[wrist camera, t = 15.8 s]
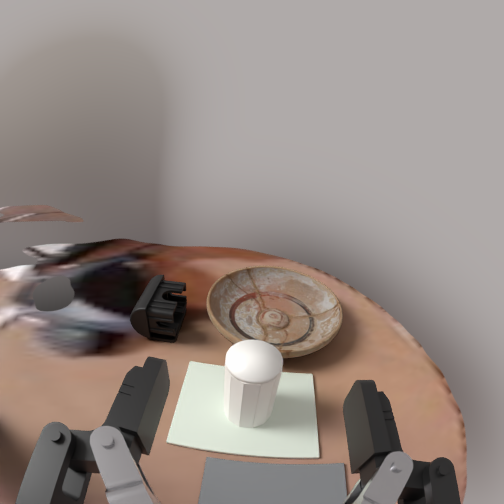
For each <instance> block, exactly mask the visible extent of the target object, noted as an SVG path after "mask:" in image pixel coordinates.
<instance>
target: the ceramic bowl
mask: <svg viewBox="0 0 504 504" xmlns="http://www.w3.org/2000/svg"><path fill="white" fill-rule="evenodd" d="M207 311H208V315H209V317H210V320H211V321H212V323H213V325H214V326H215V327H216V329H217V330H218V331H219V332H220V333H221V334H222V335H223V336H224V337H225V338H226V339H228V340H229V341H230V342H232V343H233V344H236V343H238V342H240V341H244V340H260V341H264V342H267V343H269V344H271V345H273V346H274V347H276V348H277V349H278V350H279V352H280V353H281V355H282V358H293V357H300V356H304V355H307V354H310V353H313V352H315V351H317V350H319V349H321V348H323V347H324V346H326V345H327V344H328V343H330V342H331V341H332V340H333V338H334V337H335V336H336V335H337V333H338V331H339V329H340V327H341V324H342V318H343V312H342V307H341V305H340V302H339V300H338V299H337V297H336V296H335V294H334V293H333V292H332V291H331V290H330V289H329V288H328V287H327V286H326V285H324V284H323V283H321V282H320V281H318V280H317V279H315V278H313V277H311V276H309V275H306V274H304V273H301V272H298V271H295V270H292V269H288V268H283V267H276V266H252V267H246V268H242V269H238V270H235V271H233V272H230V273H228V274H226V275H224V276H222V277H221V278H219V279H218V280H217V281H216V282H215V283H214V284H213V286H212V287H211V289H210V291H209V293H208V296H207Z"/></svg>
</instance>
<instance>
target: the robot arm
mask: <svg viewBox="0 0 504 504" xmlns="http://www.w3.org/2000/svg"><path fill="white" fill-rule="evenodd" d="M169 386H170V380H169V374H168V368H167V362H166V360H163V359H158V358H154V357H148V358H147V359H146V361H145V363H144V366H143V368H142V367H138V366H135V367H133V368H132V369H131V370H130V371H129V372H128V373H127V374H126V376H125V378H124V380H123V383H122V385H121V387H120V389H119V393H118V394H117V396H116V398H115V400H114V403H113V405H112V407H111V409H110V412H109V414H108V416H107V419H106V421H105V422H104V424H103V425H102V426H101V427H98V428H97V429H95V430H92V431H80V430H69V429H68V427H67V426H66V425H64V424H62V423H60V422H51V423H49V424H47V425H46V426H45V427H44V428H43V430H42V432H41V435H40V437H39V439H38V442H37V444H36V447H35V449H34V452H33V454H32V457H31V459H30V462H29V464H28V467H27V470H26V473H25V475H24V478H23V481H22V484H21V487H20V490H19V493H18V496H17V499H16V503H15V504H83V503H84V499H85V495H86V492H87V488H88V484H89V481H90V477H91V474H92V473H100V474H101V476H102V479H103V481H104V484H105V486H106V497H107V499H108V502H109V504H161V503H160V501H159V500H158V498H157V497H156V495H155V493H154V491H153V489H152V487H151V486H150V484H149V482H148V480H147V478H146V476H145V474H144V472H143V470H142V468H141V465H140V463H139V460H140V457H141V454H146V455H149V454H150V450H151V447H152V444H153V440H154V437H155V434H156V431H157V427H158V424H159V421H160V418H161V415H162V411H163V408H164V405H165V402H166V399H167V396H168V392H169ZM343 413H344V420H345V427H346V434H347V442H348V449H349V457H350V466H351V474H355V473H360V479H359V480H358V482H357V483H356V485H355V486H354V488H353V489H352V490H351V492H350V493H349V495H348V496H347V497H346V499H345V500H344V502H343V503H342V504H395V503H396V501H397V500H398V504H461V503H460V497H459V491H458V485H457V480H456V475H455V470H454V466H453V464H452V462H451V461H450V460H449V459H447V458H444V457H440V458H437V459H435V460H434V461H432V462H423V461H416V460H412V459H411V458H410V456H409V455H407V454H406V453H404V452H403V450H402V448H401V444H400V440H399V435H398V431H397V427H396V423H395V420H394V416H393V412H392V408H391V405H390V401H389V399H388V398H387V397H386V395H385V394H384V393H383V391H382V392H377V388H376V384H375V382H374V381H373V380H357V381H355V383H354V385H353V386H352V388H351V390H350V392H349V393H348V395H347V397H346V398H345V401H344V405H343Z"/></svg>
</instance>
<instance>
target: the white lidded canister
mask: <svg viewBox="0 0 504 504" xmlns="http://www.w3.org/2000/svg"><path fill="white" fill-rule="evenodd" d="M282 366H283V358H282V355H281V353H280V352H279V350H278V349H277V348H276V347H274V346H273V345H271V344H269V343H267V342H264V341H260V340H244V341H240V342H238V343H236V344H234V345H233V346H231V347H230V349H229V350H228V352H227V354H226V361H225V375H224V413H225V415H226V417H227V418H228V420H229V421H230V422H232V423H234V424H235V425H237V426H239V427H245V428H254V427H257V426H260V425H262V424H264V423H265V422H266V421H267V419H268V418H269V417H270V416H271V412H272V409H273V405H274V401H275V397H276V393H277V390H278V386H279V382H280V378H281V374H282Z"/></svg>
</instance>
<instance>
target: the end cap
mask: <svg viewBox="0 0 504 504" xmlns="http://www.w3.org/2000/svg"><path fill="white" fill-rule="evenodd" d="M183 291H186V283H182V282H173V281H165V280H164V275H157V276H155V277H153V278H152V279H151V280H150V282H149V284H148V285H147V287H146V289H145V290H144V292H143V294H142V296H141V297H140V299H139V301H138V302H137V304H136V306H135V308H134V309H133V311H132V313H131V315H130V322H131V324H132V326H133V328H134V329H135V330H136V331H137V332H138V333H139V334H141V335H143V336H145V337H147V338H149V339H152V340H158V341H164V342H170V343H174V342H176V340H177V337H178V334H179V331H180V328H181V325H182V322H183V319H184V316H185V313H186V304H187V299H186V296H182V295H174V294H172V293H180V294H182V292H183Z"/></svg>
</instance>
